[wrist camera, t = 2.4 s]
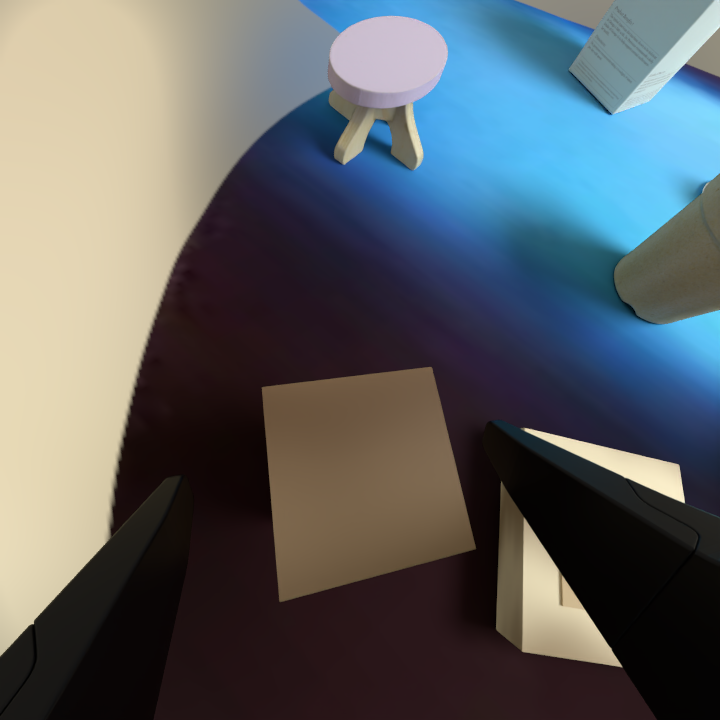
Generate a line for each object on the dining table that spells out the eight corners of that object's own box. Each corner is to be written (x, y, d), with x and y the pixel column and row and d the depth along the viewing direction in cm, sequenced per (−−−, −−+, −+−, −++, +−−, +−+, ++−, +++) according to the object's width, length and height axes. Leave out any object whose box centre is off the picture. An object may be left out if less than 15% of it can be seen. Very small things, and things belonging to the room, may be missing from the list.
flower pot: (634, 358, 23) (814, 301, 15) (572, 250, 25) (700, 151, 17) (715, 330, 26) (907, 268, 18) (653, 234, 28) (797, 141, 20)
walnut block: (376, 502, 17) (476, 549, 7) (290, 520, 16) (279, 602, 6) (362, 417, 18) (431, 366, 9) (281, 429, 17) (262, 387, 8)
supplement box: (649, 103, 35) (830, -82, 23) (610, 117, 32) (788, -81, 21) (605, 58, 36) (755, -139, 24) (564, 68, 34) (708, -144, 22)
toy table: (360, 199, 23) (379, 119, 18) (287, 117, 24) (284, 18, 19) (449, 154, 26) (488, 75, 21) (381, 84, 28) (401, -8, 22)
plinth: (666, 657, 17) (714, 681, 15) (495, 629, 16) (523, 653, 14) (644, 464, 20) (680, 464, 18) (502, 431, 19) (526, 427, 17)
